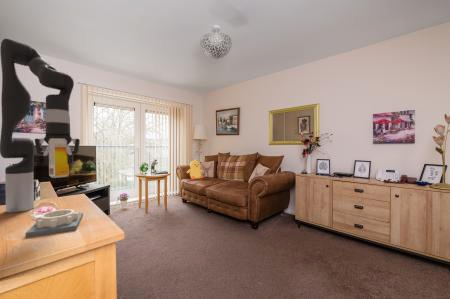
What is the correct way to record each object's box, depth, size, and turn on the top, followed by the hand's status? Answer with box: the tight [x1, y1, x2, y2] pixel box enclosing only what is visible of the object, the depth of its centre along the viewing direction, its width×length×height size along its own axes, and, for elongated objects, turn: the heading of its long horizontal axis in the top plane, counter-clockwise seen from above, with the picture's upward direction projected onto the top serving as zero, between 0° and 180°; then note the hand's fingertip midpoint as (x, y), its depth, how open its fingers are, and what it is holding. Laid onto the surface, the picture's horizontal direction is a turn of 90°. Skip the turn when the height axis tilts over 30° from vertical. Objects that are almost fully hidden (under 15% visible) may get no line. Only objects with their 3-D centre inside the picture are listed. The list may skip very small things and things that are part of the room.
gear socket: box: [25, 208, 84, 238], centre depth 77 cm, size 16×14×4 cm
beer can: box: [47, 138, 70, 179], centre depth 81 cm, size 6×6×15 cm
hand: (59, 165), depth 81 cm, fingers closed on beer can, 6 cm apart
